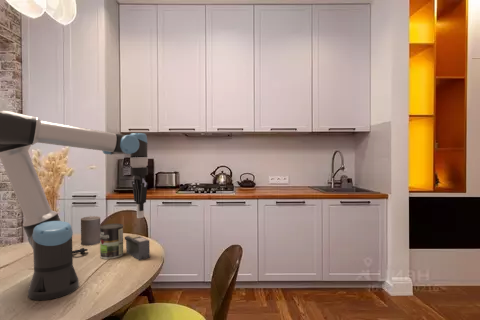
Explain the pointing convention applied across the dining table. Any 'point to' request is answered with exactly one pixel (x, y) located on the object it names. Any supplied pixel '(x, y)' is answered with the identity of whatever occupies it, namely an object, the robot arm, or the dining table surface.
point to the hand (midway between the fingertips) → (140, 217)
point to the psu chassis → (137, 247)
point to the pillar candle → (90, 230)
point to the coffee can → (111, 241)
